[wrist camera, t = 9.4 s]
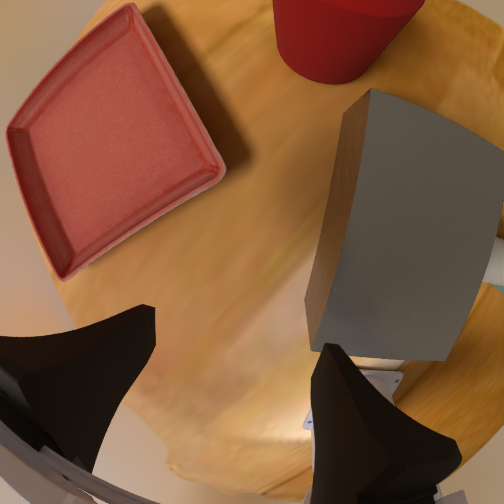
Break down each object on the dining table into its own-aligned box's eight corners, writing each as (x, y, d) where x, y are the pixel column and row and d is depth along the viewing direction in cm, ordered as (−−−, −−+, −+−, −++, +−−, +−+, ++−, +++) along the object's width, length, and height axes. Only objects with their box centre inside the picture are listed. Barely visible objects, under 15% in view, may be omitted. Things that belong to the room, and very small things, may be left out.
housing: (412, 316, 20) (445, 361, 14) (304, 299, 20) (310, 350, 14) (456, 154, 16) (509, 155, 9) (343, 113, 16) (370, 88, 10)
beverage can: (347, 11, 13) (387, -87, 2) (380, 81, 15) (470, 9, 4) (264, 23, 15) (241, -89, 3) (293, 96, 16) (306, -2, 5)
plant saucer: (147, 12, 15) (130, -4, 12) (239, 174, 19) (231, 175, 16) (24, 130, 19) (3, 130, 16) (81, 273, 23) (61, 286, 20)
